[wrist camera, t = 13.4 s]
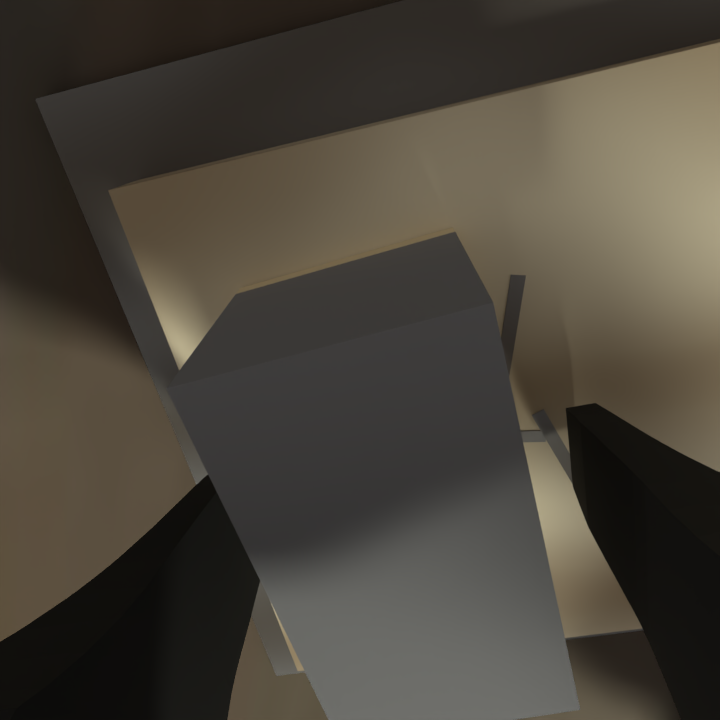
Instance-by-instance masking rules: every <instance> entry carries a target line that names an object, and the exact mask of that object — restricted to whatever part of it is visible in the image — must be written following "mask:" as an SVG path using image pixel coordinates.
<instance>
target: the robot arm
mask: <svg viewBox="0 0 720 720" xmlns="http://www.w3.org/2000/svg"><path fill="white" fill-rule="evenodd" d="M566 417H567V429H568V440H569V451H570V462H571V473H572V484H573V489H574V491H575V494H576V497H577V499H578V502H579V505H580V507H581V510H582V512H583V515H584V518H585V520H586V523H587V525H588V528H589V530H590V531H591V533H592V535H593V537H594V539H595V541H596V543H597V545H598V547H599V548H600V550H601V552H602V554H603V556H604V558H605V560H606V561H607V563H608V565H609V567H610V569H611V571H612V572H613V574H614V576H615V578H616V580H617V582H618V583H619V585H620V587H621V589H622V591H623V593H624V594H625V596H626V598H627V600H628V602H629V604H630V605H631V607H632V609H633V611H634V613H635V615H636V616H637V618H638V620H639V622H640V624H641V626H642V628H643V630H644V632H645V635H646V637H647V639H648V641H649V643H650V645H651V648H652V650H653V652H654V655H655V657H656V659H657V662H658V664H659V667H660V669H661V671H662V674H663V676H664V678H665V681H666V683H667V686H668V688H669V690H670V693H671V695H672V698H673V700H674V703H675V705H676V708H677V710H678V713H679V715H680V718H681V720H720V472H718V471H716V470H714V469H712V468H710V467H708V466H706V465H704V464H702V463H700V462H698V461H696V460H694V459H692V458H690V457H688V456H686V455H684V454H682V453H680V452H678V451H676V450H674V449H672V448H671V447H669V446H667V445H665V444H663V443H662V442H660V441H658V440H656V439H655V438H653V437H651V436H649V435H648V434H646V433H644V432H643V431H641V430H639V429H638V428H636V427H634V426H633V425H631V424H630V423H628V422H626V421H625V420H623V419H621V418H620V417H618V416H617V415H615V414H613V413H612V412H610V411H608V410H607V409H605V408H603V407H602V406H600V405H598V404H597V403H592V404H586V405H580V406H575V407H569V408H566ZM259 583H260V579H259V577H258V575H257V573H256V571H255V569H254V567H253V565H252V563H251V561H250V559H249V557H248V555H247V553H246V551H245V549H244V546H243V544H242V542H241V540H240V538H239V536H238V534H237V532H236V530H235V528H234V526H233V524H232V522H231V520H230V518H229V516H228V514H227V512H226V510H225V508H224V506H223V504H222V502H221V500H220V498H219V496H218V493H217V491H216V489H215V487H214V485H213V483H212V481H211V479H210V477H209V475H206V476H205V477H204V478H203V479H202V480H201V481H200V482H199V483H198V484H197V485H196V486H195V487H194V488H193V489H192V490H191V491H190V492H189V493H188V494H187V495H186V496H185V497H184V498H183V499H181V500H180V501H179V502H178V503H177V504H176V505H175V506H174V507H173V508H172V509H171V510H170V511H169V512H168V513H167V514H166V515H165V516H164V517H163V518H162V519H161V520H160V521H159V522H158V523H157V524H156V525H155V526H154V527H153V528H152V529H150V530H149V531H148V532H147V533H146V534H145V535H144V536H143V537H142V538H140V539H139V540H138V541H137V542H136V543H135V544H134V545H133V546H132V547H130V548H129V549H128V550H127V551H126V552H125V553H124V554H123V555H122V556H121V557H119V558H118V559H117V560H116V561H115V562H113V563H112V564H111V565H110V566H109V567H107V568H106V569H105V570H104V571H102V572H101V573H100V574H99V575H97V576H96V577H95V578H94V579H92V580H91V581H90V582H88V583H87V584H86V585H84V586H83V587H82V588H81V589H79V590H78V591H77V592H75V593H74V594H72V595H71V596H70V597H68V598H67V599H65V600H64V601H62V602H61V603H59V604H58V605H56V606H55V607H54V608H52V609H51V610H49V611H48V612H46V613H45V614H43V615H42V616H40V617H39V618H37V619H36V620H34V621H33V622H31V623H30V624H28V625H27V626H25V627H24V628H22V629H21V630H19V631H17V632H16V633H14V634H12V635H11V636H9V637H7V638H6V639H4V640H3V641H1V642H0V720H227V717H228V711H229V705H230V699H231V693H232V688H233V684H234V679H235V675H236V670H237V666H238V663H239V659H240V655H241V651H242V648H243V644H244V640H245V637H246V633H247V629H248V625H249V622H250V618H251V614H252V610H253V607H254V603H255V599H256V595H257V591H258V587H259Z"/></svg>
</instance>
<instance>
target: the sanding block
mask: <svg viewBox="0 0 720 720" xmlns="http://www.w3.org/2000/svg"><path fill="white" fill-rule="evenodd" d="M166 389H167V391H168V394H169V396H170V398H171V400H172V402H173V404H174V406H175V408H176V410H177V412H178V414H179V416H180V418H181V420H182V422H183V424H184V426H185V428H186V430H187V432H188V434H189V436H190V438H191V440H192V442H193V445H194V447H195V449H196V451H197V453H198V455H199V457H200V459H201V461H202V463H203V465H204V467H205V469H206V471H207V473H208V475H209V477H210V479H211V481H212V483H213V485H214V487H215V489H216V491H217V493H218V496H219V498H220V500H221V502H222V504H223V506H224V508H225V510H226V512H227V514H228V516H229V518H230V520H231V522H232V524H233V526H234V528H235V530H236V532H237V534H238V536H239V538H240V540H241V542H242V544H243V546H244V549H245V551H246V553H247V555H248V557H249V559H250V561H251V563H252V565H253V567H254V569H255V571H256V573H257V575H258V577H259V579H260V581H261V583H262V585H263V587H264V589H265V591H266V593H267V595H268V597H269V599H270V602H271V604H272V606H273V608H274V610H275V612H276V614H277V616H278V618H279V620H280V622H281V624H282V626H283V628H284V630H285V632H286V634H287V636H288V638H289V640H290V642H291V644H292V646H293V648H294V650H295V653H296V655H297V657H298V659H299V661H300V663H301V665H302V667H303V669H304V671H305V673H306V675H307V677H308V679H309V681H310V683H311V685H312V687H313V689H314V691H315V693H316V695H317V697H318V699H319V701H320V703H321V706H322V708H323V710H324V712H325V714H326V716H327V718H328V720H516V719H522V718H529V717H536V716H542V715H549V714H555V713H562V712H568V711H575V710H580V706H579V701H578V697H577V692H576V687H575V683H574V678H573V673H572V669H571V664H570V659H569V655H568V650H567V645H566V641H565V636H564V631H563V627H562V622H561V617H560V612H559V608H558V603H557V598H556V594H555V589H554V584H553V580H552V575H551V570H550V566H549V561H548V556H547V552H546V547H545V542H544V538H543V533H542V528H541V524H540V519H539V514H538V509H537V505H536V500H535V495H534V491H533V486H532V481H531V477H530V472H529V467H528V463H527V458H526V453H525V449H524V444H523V439H522V435H521V430H520V425H519V421H518V416H517V411H516V406H515V402H514V397H513V392H512V388H511V383H510V378H509V374H508V369H507V364H506V360H505V355H504V350H503V346H502V341H501V336H500V332H499V327H498V322H497V318H496V313H495V308H494V303H493V301H492V299H491V297H490V295H489V294H488V292H487V290H486V288H485V286H484V284H483V282H482V281H481V279H480V277H479V275H478V273H477V271H476V269H475V268H474V266H473V264H472V262H471V260H470V258H469V256H468V254H467V253H466V251H465V249H464V247H463V245H462V243H461V241H460V240H459V238H458V236H457V234H456V232H455V230H454V228H453V227H452V228H448V229H445V230H441V231H438V232H434V233H431V234H427V235H424V236H420V237H417V238H413V239H410V240H406V241H403V242H399V243H396V244H392V245H389V246H385V247H382V248H378V249H375V250H371V251H368V252H364V253H361V254H357V255H354V256H350V257H347V258H343V259H340V260H336V261H333V262H329V263H326V264H322V265H319V266H315V267H312V268H308V269H305V270H301V271H298V272H294V273H291V274H287V275H284V276H280V277H277V278H273V279H270V280H266V281H263V282H259V283H256V284H252V285H249V286H245V287H242V288H240V289H239V290H238V292H237V293H236V294H235V296H234V297H233V298H232V300H231V301H230V302H229V304H228V305H227V306H226V308H225V309H224V311H223V312H222V313H221V315H220V316H219V317H218V319H217V320H216V321H215V323H214V324H213V326H212V327H211V328H210V330H209V331H208V332H207V334H206V335H205V336H204V338H203V339H202V340H201V342H200V343H199V345H198V346H197V347H196V349H195V350H194V351H193V353H192V354H191V355H190V357H189V358H188V359H187V361H186V362H185V364H184V365H183V366H182V368H181V369H180V370H179V372H178V373H177V374H176V376H175V377H174V378H173V380H172V381H171V383H170V384H169V385H168V387H167V388H166Z"/></svg>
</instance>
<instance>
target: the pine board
mask: <svg viewBox="0 0 720 720" xmlns="http://www.w3.org/2000/svg"><path fill="white" fill-rule="evenodd" d="M35 100H36V103H37V105H38V107H39V110H40V112H41V115H42V117H43V119H44V122H45V124H46V127H47V129H48V131H49V134H50V136H51V139H52V141H53V143H54V146H55V148H56V150H57V153H58V155H59V158H60V160H61V162H62V165H63V167H64V170H65V172H66V174H67V177H68V179H69V182H70V184H71V186H72V189H73V191H74V193H75V196H76V198H77V201H78V203H79V205H80V208H81V210H82V213H83V215H84V217H85V220H86V222H87V225H88V227H89V229H90V232H91V234H92V236H93V239H94V241H95V244H96V246H97V248H98V251H99V253H100V256H101V258H102V260H103V263H104V265H105V268H106V270H107V272H108V275H109V277H110V279H111V282H112V284H113V287H114V289H115V291H116V294H117V296H118V299H119V301H120V303H121V306H122V308H123V311H124V313H125V315H126V318H127V320H128V322H129V325H130V327H131V330H132V332H133V334H134V337H135V339H136V342H137V344H138V346H139V349H140V351H141V354H142V356H143V358H144V361H145V363H146V365H147V368H148V370H149V373H150V375H151V377H152V380H153V382H154V385H155V387H156V389H157V392H158V394H159V397H160V399H161V401H162V404H163V406H164V408H165V411H166V413H167V416H168V418H169V420H170V423H171V425H172V428H173V430H174V432H175V435H176V437H177V440H178V442H179V444H180V447H181V449H182V451H183V454H184V456H185V459H186V461H187V463H188V466H189V468H190V471H191V473H192V475H193V478H194V480H195V482H196V485H197V484H198V483H199V482H200V481H201V480H202V479H203V478H204V477H205V476H206V475H208V473H207V471H206V469H205V467H204V465H203V463H202V461H201V459H200V457H199V455H198V453H197V451H196V449H195V447H194V445H193V442H192V440H191V438H190V436H189V434H188V432H187V430H186V428H185V426H184V424H183V422H182V420H181V418H180V416H179V414H178V412H177V410H176V408H175V406H174V404H173V402H172V400H171V398H170V396H169V394H168V391H167V389H166V388H167V387H168V385H169V384H170V383H171V381H172V380H173V378H174V377H175V376H176V374H177V373H178V372H179V370H180V369H181V368H182V366H183V365H184V364H185V362H186V361H187V359H188V358H189V357H190V355H191V354H192V353H193V351H194V350H195V349H196V347H197V346H198V345H199V343H200V342H201V340H202V339H203V338H204V336H205V335H206V334H207V332H208V331H209V330H210V328H211V327H212V326H213V324H214V323H215V321H216V320H217V319H218V317H219V316H220V315H221V313H222V312H223V311H224V309H225V308H226V306H227V305H228V304H229V302H230V301H231V300H232V298H233V297H234V296H235V294H236V293H237V292H238V290H239V289H240V288H242V287H245V286H249V285H252V284H256V283H259V282H263V281H266V280H270V279H273V278H277V277H280V276H284V275H287V274H291V273H294V272H298V271H301V270H305V269H308V268H312V267H315V266H319V265H322V264H326V263H329V262H333V261H336V260H340V259H343V258H347V257H350V256H354V255H357V254H361V253H364V252H368V251H371V250H375V249H378V248H382V247H385V246H389V245H392V244H396V243H399V242H403V241H406V240H410V239H413V238H417V237H420V236H424V235H427V234H431V233H434V232H438V231H441V230H445V229H448V228H452V227H453V228H454V230H455V232H456V234H457V236H458V238H459V240H460V241H461V243H462V245H463V247H464V249H465V251H466V253H467V254H468V256H469V258H470V260H471V262H472V264H473V266H474V268H475V269H476V271H477V273H478V275H479V277H480V279H481V281H482V282H483V284H484V286H485V288H486V290H487V292H488V294H489V295H490V297H491V299H492V301H493V303H494V308H495V313H496V318H497V322H498V327H499V332H500V336H501V341H502V346H503V350H504V355H505V360H506V364H507V369H508V374H509V378H510V383H511V388H512V392H513V397H514V402H515V406H516V411H517V416H518V421H519V425H520V430H521V435H522V439H523V444H524V449H525V453H526V458H527V463H528V467H529V472H530V477H531V481H532V486H533V491H534V495H535V500H536V505H537V509H538V514H539V519H540V524H541V528H542V533H543V538H544V542H545V547H546V552H547V556H548V561H549V566H550V570H551V575H552V580H553V584H554V589H555V594H556V598H557V603H558V608H559V612H560V617H561V622H562V627H563V631H564V636H565V640H570V639H578V638H586V637H594V636H602V635H610V634H619V633H627V632H635V631H643V628H642V626H641V624H640V622H639V620H638V618H637V616H636V615H635V613H634V611H633V609H632V607H631V605H630V604H629V602H628V600H627V598H626V596H625V594H624V593H623V591H622V589H621V587H620V585H619V583H618V582H617V580H616V578H615V576H614V574H613V572H612V571H611V569H610V567H609V565H608V563H607V561H606V560H605V558H604V556H603V554H602V552H601V550H600V548H599V547H598V545H597V543H596V541H595V539H594V537H593V535H592V533H591V531H590V530H589V528H588V525H587V523H586V520H585V518H584V515H583V512H582V510H581V507H580V505H579V502H578V499H577V497H576V494H575V491H574V489H573V484H572V473H571V462H570V451H569V440H568V429H567V417H566V408H569V407H575V406H580V405H586V404H592V403H597V404H598V405H600V406H602V407H603V408H605V409H607V410H608V411H610V412H612V413H613V414H615V415H617V416H618V417H620V418H621V419H623V420H625V421H626V422H628V423H630V424H631V425H633V426H634V427H636V428H638V429H639V430H641V431H643V432H644V433H646V434H648V435H649V436H651V437H653V438H655V439H656V440H658V441H660V442H662V443H663V444H665V445H667V446H669V447H671V448H672V449H674V450H676V451H678V452H680V453H682V454H684V455H686V456H688V457H690V458H692V459H694V460H696V461H698V462H700V463H702V464H704V465H706V466H708V467H710V468H712V469H714V470H716V471H718V472H720V0H402V1H398V2H394V3H391V4H387V5H383V6H379V7H376V8H372V9H368V10H365V11H361V12H357V13H353V14H350V15H346V16H342V17H338V18H335V19H331V20H327V21H324V22H320V23H316V24H312V25H309V26H305V27H301V28H297V29H294V30H290V31H286V32H282V33H279V34H275V35H271V36H268V37H264V38H260V39H256V40H253V41H249V42H245V43H241V44H238V45H234V46H230V47H227V48H223V49H219V50H215V51H212V52H208V53H204V54H200V55H197V56H193V57H189V58H186V59H182V60H178V61H174V62H171V63H167V64H163V65H159V66H156V67H152V68H148V69H145V70H141V71H137V72H133V73H130V74H126V75H122V76H118V77H115V78H111V79H107V80H104V81H100V82H96V83H92V84H89V85H85V86H81V87H77V88H74V89H70V90H66V91H62V92H59V93H55V94H51V95H48V96H44V97H40V98H36V99H35ZM251 616H252V619H253V621H254V623H255V626H256V628H257V631H258V633H259V635H260V638H261V640H262V643H263V645H264V647H265V650H266V652H267V654H268V657H269V659H270V662H271V664H272V666H273V669H274V671H275V674H276V676H279V675H288V674H296V673H304V672H305V671H304V669H303V667H302V665H301V663H300V661H299V659H298V657H297V655H296V653H295V650H294V648H293V646H292V644H291V642H290V640H289V638H288V636H287V634H286V632H285V630H284V628H283V626H282V624H281V622H280V620H279V618H278V616H277V614H276V612H275V610H274V608H273V606H272V604H271V602H270V599H269V597H268V595H267V593H266V591H265V589H264V587H263V585H262V583H261V581H260V583H259V587H258V591H257V595H256V599H255V603H254V607H253V610H252V614H251Z"/></svg>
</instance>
